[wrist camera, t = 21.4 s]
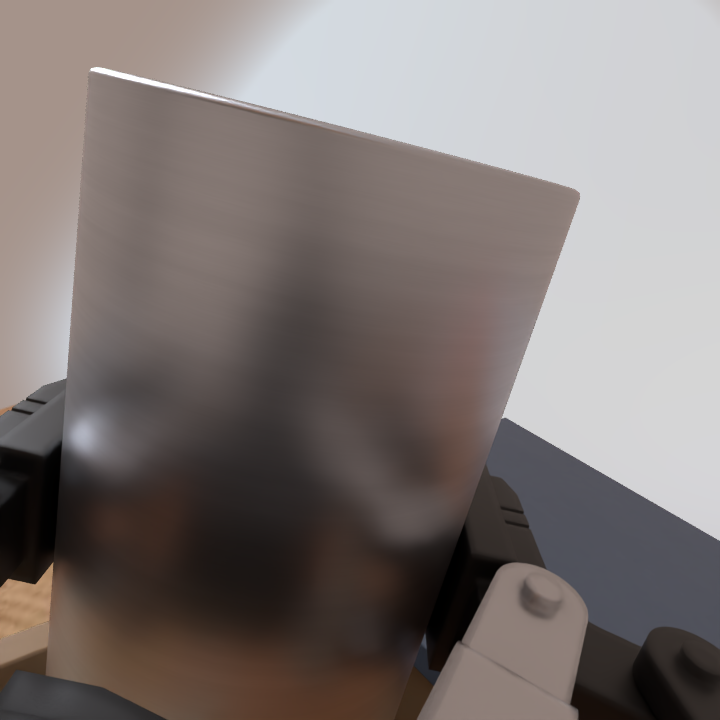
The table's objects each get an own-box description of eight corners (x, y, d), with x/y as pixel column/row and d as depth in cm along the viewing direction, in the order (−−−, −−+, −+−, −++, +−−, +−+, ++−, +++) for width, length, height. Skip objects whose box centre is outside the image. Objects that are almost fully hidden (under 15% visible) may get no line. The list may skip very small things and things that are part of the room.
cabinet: (485, 1085, 14) (633, 851, 11) (218, 687, 22) (260, 485, 19) (684, 752, 24) (791, 581, 21) (452, 562, 32) (505, 416, 29)
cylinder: (-12, 884, 13) (14, 47, 7) (224, 741, 17) (358, 138, 12) (88, 1253, 9) (308, 113, 4) (360, 953, 13) (661, 212, 8)
